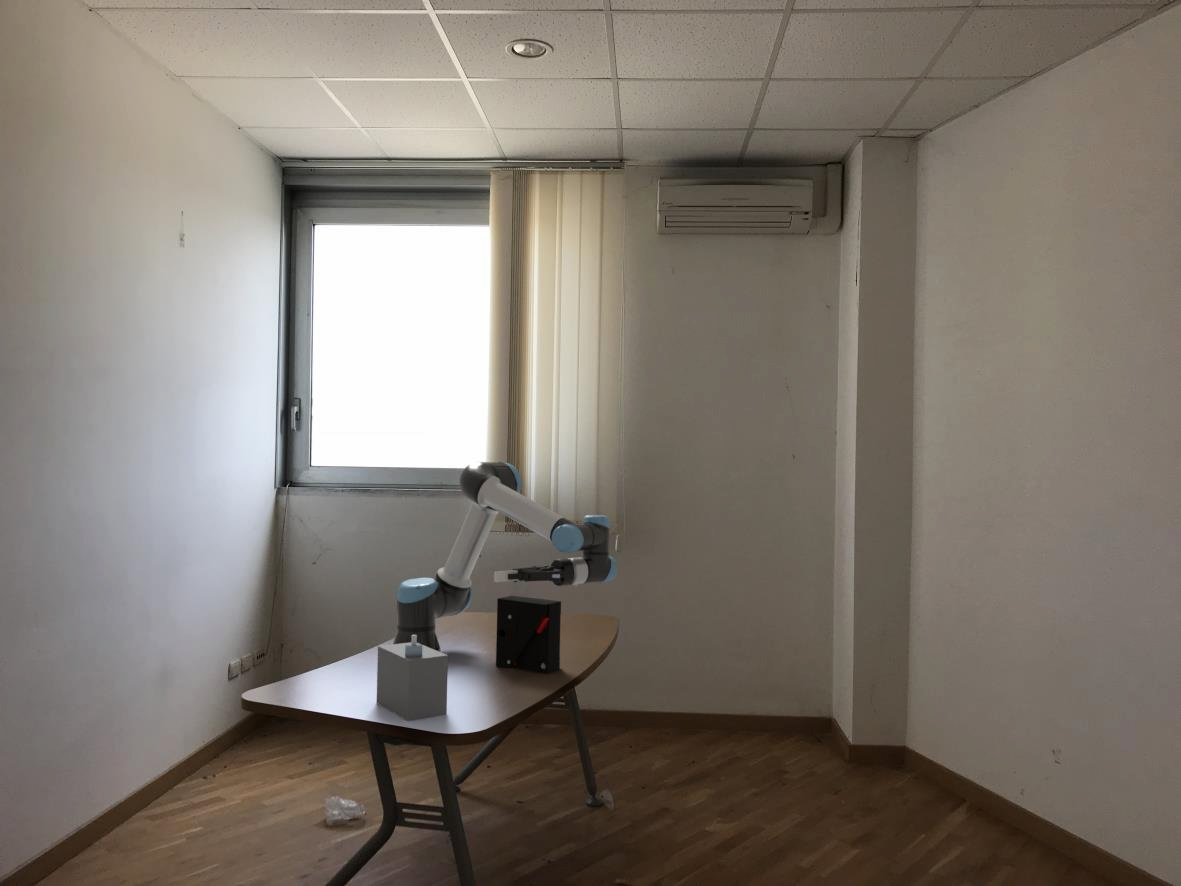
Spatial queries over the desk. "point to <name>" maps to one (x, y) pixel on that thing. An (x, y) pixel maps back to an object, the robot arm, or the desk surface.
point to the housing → (412, 682)
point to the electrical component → (528, 634)
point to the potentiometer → (413, 648)
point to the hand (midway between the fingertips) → (495, 576)
